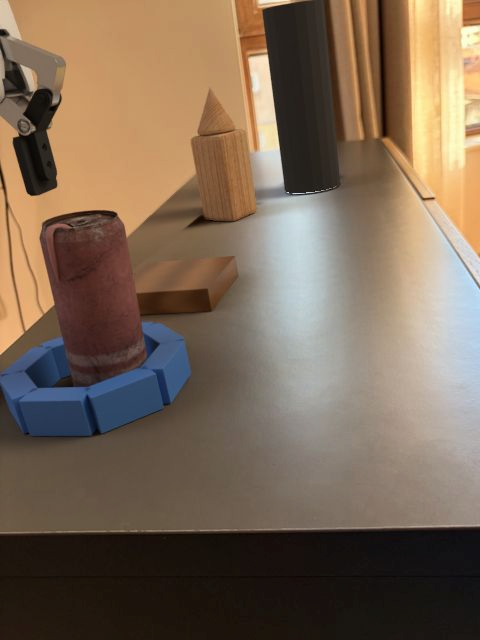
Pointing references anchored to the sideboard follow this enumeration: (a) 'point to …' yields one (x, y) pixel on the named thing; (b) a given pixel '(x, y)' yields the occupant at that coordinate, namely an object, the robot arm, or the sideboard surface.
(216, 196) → the decorative item
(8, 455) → the sideboard surface
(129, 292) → the can
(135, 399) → the ring
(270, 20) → the vase
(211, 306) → the platform
